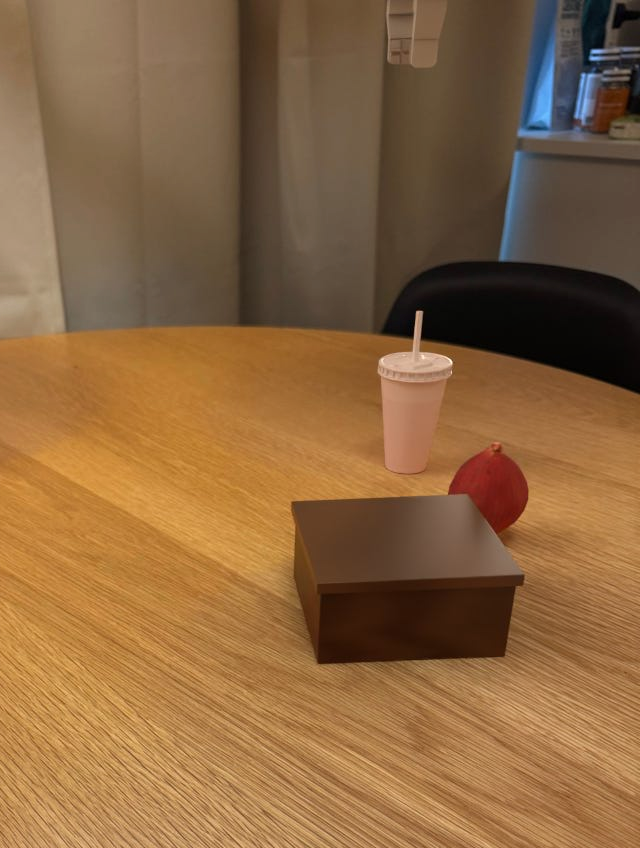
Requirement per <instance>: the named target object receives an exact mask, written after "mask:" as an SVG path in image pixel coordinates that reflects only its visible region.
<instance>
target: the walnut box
mask: <svg viewBox="0 0 640 848" xmlns="http://www.w3.org/2000/svg"><path fill="white" fill-rule="evenodd" d="M290 513H291V515H292V520H293V522H294V549H293V550H294V554H293V579H294V584H295V587H296V590H297V595H298V598H299V602H300V606H301V609H302V613H303V616H304V617H303V618H304V620H305V624H306V627H307V631H308V634H309V638H310V643H311V645H312V648H313V652H314V656H315V661H316V663H317V664H334V663H335V664H337V663H339V664H340V663H360V662H385V661H386V662H389V661H390V662H391V661H409V660H411V661H413V660H436V659H438V660H439V659H460V658H461V659H463V658H485V657H489V658H490V657H505V656H506V651H507V645H508V638H509V632H510V626H511V620H512V614H513V607H514V601H515V595H516V590H517V587H523V586H524V582H525V577H526V575H525V573H524V571H523V570H522V568H521V567H520V566H519V564H518V563H517V562H516V560H515V559H514V557H513V556H512V555H511V553H510V552H509V551H508V549H507V548H506V546H505V544H504V543H503V542H502V540H501V539H500V537H499V536H498V534H496V533H495V532H494V530H493V529H492V528H491V526H490V525H489V523H488V522H487V521H486V519H485V518H484V516H483V515H482V513H481V512H480V511H479V509H478V508H477V506H476V505H475V504H474V502H473V501H472V499H471V498H470V497H469V495H468V494H455V495H448V494H434V495H432V494H431V495H412V496H411V495H410V496H407V495H406V496H385V497H384V496H383V497H363V498H339V499H338V498H337V499H317V500H316V499H314V500H312V499H311V500H292V501H291V502H290Z"/></svg>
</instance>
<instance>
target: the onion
mask: <svg viewBox="0 0 640 848" xmlns="http://www.w3.org/2000/svg"><path fill="white" fill-rule="evenodd" d="M529 492H530V491H529V485H528V480H527V479H526V477H525V475H524V472H523V470H522V469H521V467H520V466H519V464H518V463H517V462H516V461H515V460H514V459H513V458H512V457H510V456H508V455H507V454H506V453H505V452H504V447H503V443H502V442H500V441H493V442H492V443H491V444H490V445H489V446H488V447H486V448H485V449H483V450H482V451H479V452H478V453H477V454H475V455H473V456H472V457H469V459H467V460H466V461H464V463H462V464H461V465H460V466H459V468H458V469H457V470H456V472H455V473H454V476H453V478H452V480H451V483H450V484H449V486H448V491H447V495H455V494H468V495H469V497H470V498H471V499H472V501H473V502H474V504H475V505H476V506H477V508H478V509H479V511H480V512H481V513H482V515H483V516H484V518H485V519H486V521H487V522H488V523H489V525H490V526H491V528H492V529H493V530H494V532H495V533H496V535H498V534H500V533H502V532H503V531H505V530H507V529H508V528H510V527H512V525H514V524H515V523H516V522H517V521H518V520H519V518H520V517H521V516H522V515H523V514H524V512H525V510H526V507H527V505H528V502H529V495H530V494H529Z"/></svg>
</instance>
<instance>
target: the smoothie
mask: <svg viewBox="0 0 640 848" xmlns="http://www.w3.org/2000/svg"><path fill="white" fill-rule="evenodd" d="M423 315H424V311H423V310H416V311H415V321H414V323H415V324H414V332H413V342H412V343H413V344H412V351H399V352H394V353H390V354H386V355H384V356H382V357H380V358H379V360H378V366H377V374H378V375H379V376H380V383H381V385H380V387H381V404H382V406H381V407H382V424H383V446H384V447H383V448H384V467H385V469H387V470H389V472H393V473H396V474H404V475H411V474H419V473H422V472H424V471H425V470H426V469H427V466H428V462H429V458H430V453H431V450H432V445H433V441H434V437H435V433H436V429H437V425H438V421H439V415H440V412H441V407H442V404H443V399H444V394H445V390H446V387H447V381H448V378H450V377H451V376H452V375H453V364H454V363H453V361H452V360H451V358H449V357H447V356H445V355H442V354H438V353H434V352H426V351H420V350H421V349H420V348H421V337H422V326H423Z"/></svg>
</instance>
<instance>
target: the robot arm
mask: <svg viewBox="0 0 640 848" xmlns="http://www.w3.org/2000/svg"><path fill="white" fill-rule="evenodd" d="M447 9H448V0H386V14H385V17H386V29H387V39H388V42H387V43H388V44H387V62H388V63H389V64H390V65H392V66H393V65H394V66H398V65H401V66H402V65H409V66H410V67H412V68H414V69H427V68H428V69H429V68H430V69H431V68H433V67H434V66H435V65H436V63H437V61H438V51H439V41H440V36H441V33H442V29H443V25H444V22H445V17H446V14H447Z"/></svg>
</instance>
